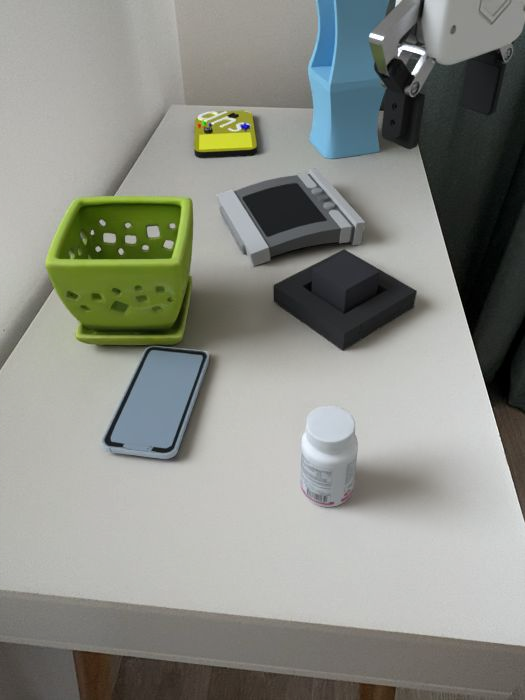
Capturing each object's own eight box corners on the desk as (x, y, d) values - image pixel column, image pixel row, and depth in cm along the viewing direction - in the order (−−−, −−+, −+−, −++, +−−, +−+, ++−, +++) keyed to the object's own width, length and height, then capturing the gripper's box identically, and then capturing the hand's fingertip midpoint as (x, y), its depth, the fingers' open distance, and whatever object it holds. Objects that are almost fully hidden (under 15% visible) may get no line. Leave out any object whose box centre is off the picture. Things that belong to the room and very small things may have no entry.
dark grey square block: (343, 279, 78) (345, 251, 76) (376, 299, 75) (379, 271, 72) (311, 296, 76) (312, 268, 73) (343, 318, 73) (345, 290, 70)
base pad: (342, 265, 82) (344, 248, 81) (414, 307, 75) (417, 290, 74) (273, 301, 77) (272, 284, 75) (342, 351, 70) (344, 333, 68)
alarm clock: (365, 222, 84) (248, 235, 79) (359, 252, 87) (247, 267, 82) (316, 168, 96) (213, 177, 92) (313, 196, 99) (213, 206, 95)
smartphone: (211, 351, 69) (174, 455, 58) (211, 357, 70) (175, 462, 58) (146, 344, 70) (97, 446, 59) (147, 351, 71) (99, 453, 59)
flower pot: (68, 359, 70) (38, 263, 61) (94, 285, 80) (72, 194, 72) (194, 358, 69) (181, 261, 61) (204, 284, 80) (194, 193, 71)
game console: (259, 155, 108) (259, 146, 107) (194, 159, 107) (194, 150, 106) (251, 115, 121) (251, 107, 120) (193, 118, 121) (193, 110, 120)
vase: (306, 137, 113) (310, -21, 96) (356, 130, 115) (369, -27, 98) (326, 160, 106) (335, -7, 89) (380, 151, 108) (398, -13, 91)
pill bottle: (338, 458, 59) (344, 395, 53) (362, 498, 55) (371, 435, 50) (291, 474, 57) (292, 411, 52) (313, 515, 54) (316, 453, 48)
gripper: (445, -131, 33) (403, 174, 44) (614, -152, 41) (542, 111, 52) (343, -138, 37) (329, 141, 49) (514, -156, 45) (467, 88, 57)
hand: (439, 125), depth 50 cm, fingers open, 9 cm apart
